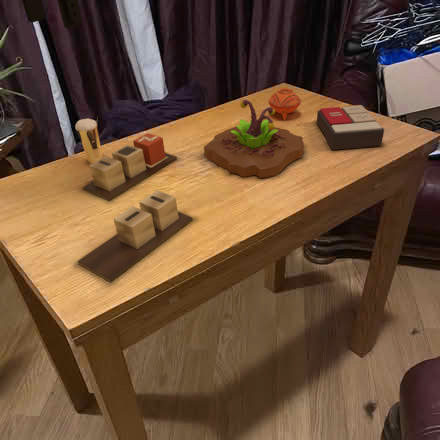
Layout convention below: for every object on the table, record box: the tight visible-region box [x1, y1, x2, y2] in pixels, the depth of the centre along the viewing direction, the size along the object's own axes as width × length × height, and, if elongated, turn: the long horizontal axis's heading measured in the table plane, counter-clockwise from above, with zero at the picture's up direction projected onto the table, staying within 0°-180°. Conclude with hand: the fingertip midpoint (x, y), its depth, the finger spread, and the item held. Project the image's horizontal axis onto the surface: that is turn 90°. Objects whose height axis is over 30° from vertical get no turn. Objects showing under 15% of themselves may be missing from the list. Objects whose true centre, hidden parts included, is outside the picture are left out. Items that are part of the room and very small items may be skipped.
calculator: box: [316, 104, 385, 151], centre depth 97 cm, size 11×4×15 cm
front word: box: [77, 189, 194, 283], centre depth 72 cm, size 8×20×5 cm, turn 143°
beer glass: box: [75, 117, 104, 164], centre depth 92 cm, size 5×5×10 cm
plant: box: [203, 99, 305, 179], centre depth 90 cm, size 20×20×11 cm
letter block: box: [132, 132, 166, 166], centre depth 92 cm, size 4×4×5 cm
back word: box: [82, 144, 178, 202], centre depth 89 cm, size 8×20×5 cm, turn 143°
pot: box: [268, 87, 302, 121], centre depth 106 cm, size 8×8×7 cm
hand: (55, 23), depth 71 cm, fingers open, 9 cm apart
